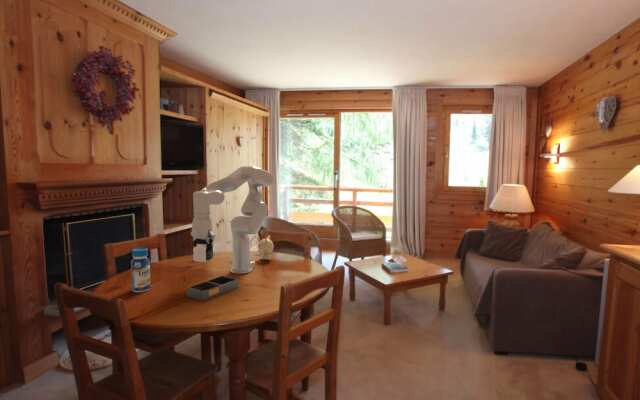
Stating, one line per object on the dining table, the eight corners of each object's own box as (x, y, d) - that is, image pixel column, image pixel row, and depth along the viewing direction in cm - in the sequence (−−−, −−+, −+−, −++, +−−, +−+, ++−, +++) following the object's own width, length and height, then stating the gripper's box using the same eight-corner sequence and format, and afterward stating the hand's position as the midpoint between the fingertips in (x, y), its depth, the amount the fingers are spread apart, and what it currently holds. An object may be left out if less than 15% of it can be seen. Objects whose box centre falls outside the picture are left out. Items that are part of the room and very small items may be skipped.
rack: (222, 283, 188) (222, 275, 188) (238, 287, 182) (238, 279, 182) (186, 296, 169) (186, 287, 169) (204, 301, 163) (204, 292, 163)
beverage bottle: (141, 286, 183) (140, 246, 181) (154, 288, 180) (153, 248, 178) (127, 291, 175) (125, 250, 173) (141, 293, 172) (139, 251, 170)
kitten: (261, 256, 245) (261, 234, 243) (276, 256, 244) (276, 234, 242) (255, 261, 230) (255, 238, 229) (270, 262, 229) (270, 238, 228)
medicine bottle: (206, 262, 182) (205, 238, 180) (193, 261, 183) (192, 237, 182) (213, 258, 189) (212, 235, 187) (200, 257, 190) (199, 234, 189)
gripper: (184, 215, 185) (185, 249, 187) (208, 218, 176) (209, 253, 178) (196, 213, 191) (197, 246, 193) (219, 216, 182) (220, 250, 184)
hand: (203, 249), depth 185 cm, fingers closed on medicine bottle, 8 cm apart
